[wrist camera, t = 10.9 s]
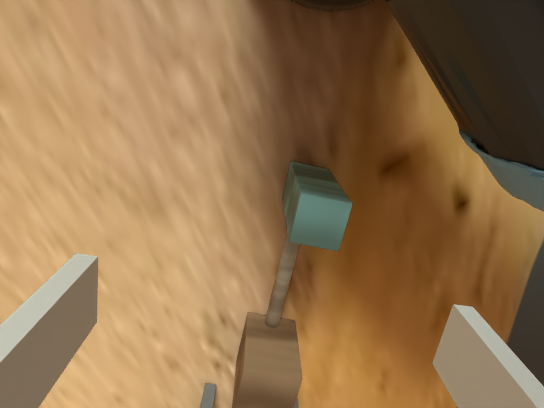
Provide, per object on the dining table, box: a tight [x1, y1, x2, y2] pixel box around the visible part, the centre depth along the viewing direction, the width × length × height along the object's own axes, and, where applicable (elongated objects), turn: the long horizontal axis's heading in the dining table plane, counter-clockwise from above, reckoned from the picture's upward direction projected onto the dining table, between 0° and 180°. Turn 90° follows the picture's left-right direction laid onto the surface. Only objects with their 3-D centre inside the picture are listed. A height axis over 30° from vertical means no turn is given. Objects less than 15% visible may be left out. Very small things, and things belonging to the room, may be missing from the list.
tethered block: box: [232, 161, 353, 408], centre depth 33 cm, size 22×5×10 cm, turn 168°
